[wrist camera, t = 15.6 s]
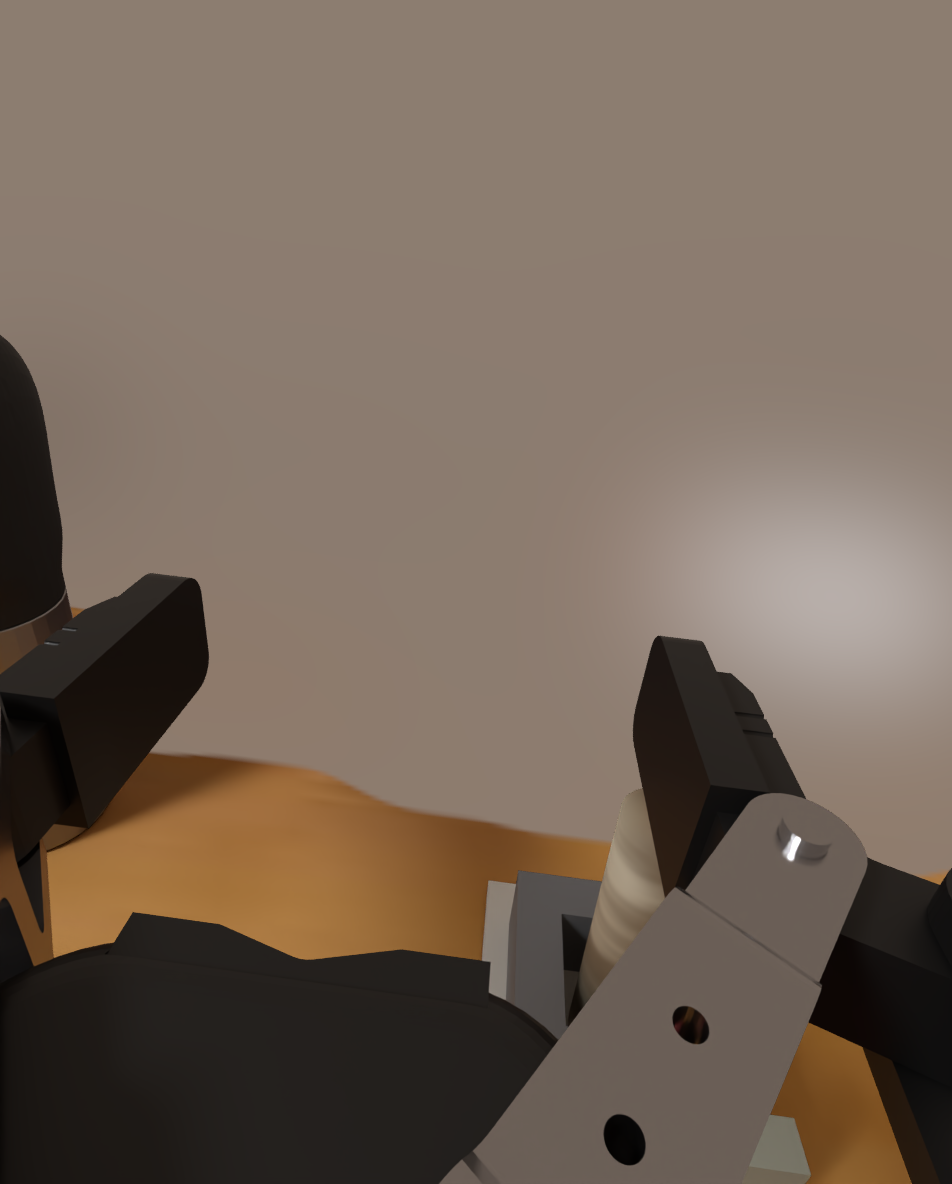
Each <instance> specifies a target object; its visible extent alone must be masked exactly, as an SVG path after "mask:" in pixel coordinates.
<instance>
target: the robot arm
mask: <svg viewBox="0 0 952 1184" xmlns="http://www.w3.org/2000/svg"><path fill="white" fill-rule="evenodd" d="M208 661H209V652H208V643H207V635H206V627H205V619H204V611H203V602H202V594H201V589H200V586H199V584H198V582H197V581H196V580H195V579H193V578H186V577H177V576H169V575H161V574H153V573H150V574H147V575H145V576H144V577H142V578H141V579H140V580H138V581H137V582H136V583H135V584H134V585H132V586H131V587H130V588H128V589H127V590H126V591H125V592H123V593H122V594H121V595H120V596H118V597H113V598H111V599H108V600H106V601H104V602H101V603H99V604H97V605H95V606H92V607H90V608H87V609H85V610H83V611H82V612H81V613H79V614H78V615H77V616H76V617H74V618H73V616H72V612H71V607H70V603H69V599H68V595H67V590H66V586H65V582H64V577H63V573H62V526H61V518H60V512H59V507H58V502H57V496H56V490H55V484H54V478H53V472H52V465H51V459H50V452H49V445H48V439H47V431H46V426H45V421H44V415H43V410H42V406H41V403H40V399H39V395H38V392H37V389H36V386H35V383H34V381H33V378H32V376H31V374H30V371H29V369H28V368H27V366H26V364H25V363H24V361H23V359H22V358H21V356H20V355H19V353H18V352H17V351H16V350H15V349H14V347H13V346H12V345H11V344H10V343H9V342H8V341H7V340H6V339H4V338H3V337H2V336H1V335H0V1184H742V1182H743V1179H744V1177H745V1174H746V1172H747V1169H748V1167H749V1165H750V1162H751V1160H752V1157H753V1155H754V1152H755V1150H756V1148H757V1145H758V1143H759V1140H760V1138H761V1136H762V1133H763V1131H764V1128H765V1126H766V1123H767V1121H768V1119H769V1116H770V1114H771V1111H772V1109H773V1106H774V1104H775V1102H776V1099H777V1097H778V1094H779V1092H780V1090H781V1087H782V1085H783V1082H784V1080H785V1077H786V1075H787V1073H788V1070H789V1068H790V1065H791V1063H792V1060H793V1058H794V1056H795V1053H796V1051H797V1048H798V1046H799V1043H800V1041H801V1039H802V1036H803V1034H804V1031H805V1029H806V1027H807V1024H808V1022H809V1023H811V1024H813V1025H816V1026H818V1027H820V1028H822V1029H824V1030H826V1031H829V1032H831V1033H833V1034H835V1035H837V1036H840V1037H842V1038H844V1039H846V1040H848V1041H851V1042H853V1043H855V1044H857V1045H859V1046H861V1047H863V1050H864V1053H865V1055H866V1058H867V1061H868V1064H869V1066H870V1069H871V1072H872V1075H873V1077H874V1080H875V1083H876V1086H877V1089H878V1091H879V1094H880V1097H881V1100H882V1102H883V1105H884V1108H885V1111H886V1113H887V1116H888V1119H889V1122H890V1124H891V1127H892V1130H893V1133H894V1135H895V1138H896V1141H897V1144H898V1147H899V1149H900V1152H901V1155H902V1158H903V1160H904V1163H905V1166H906V1169H907V1171H908V1174H909V1177H910V1180H911V1182H912V1184H952V868H951V870H950V871H949V872H948V874H947V875H946V877H945V878H944V880H943V881H942V883H941V885H938V884H936V883H933V882H930V881H927V880H925V879H922V878H919V877H917V876H914V875H911V874H908V873H906V872H903V871H900V870H897V869H895V868H892V867H889V866H887V865H883V864H881V863H879V862H877V861H874V860H872V859H870V858H868V857H867V855H866V852H865V849H864V847H863V845H862V843H861V841H860V840H859V838H858V837H857V836H856V834H855V833H854V832H853V831H852V829H851V828H850V827H849V826H848V825H847V824H846V823H845V822H843V821H842V820H841V819H840V818H839V817H837V816H836V815H834V814H833V813H832V812H830V811H829V810H827V809H825V808H824V807H822V806H820V805H818V804H816V803H814V802H812V801H809V800H806V798H805V796H804V794H803V792H802V790H801V788H800V786H799V784H798V782H797V780H796V778H795V776H794V774H793V772H792V770H791V768H790V766H789V764H788V762H787V760H786V758H785V756H784V754H783V752H782V750H781V748H780V746H779V744H778V742H777V740H776V738H773V732H772V730H771V728H770V726H769V724H768V722H767V721H766V720H765V719H764V714H763V712H762V710H761V708H760V707H759V704H758V702H757V700H756V698H755V696H754V694H753V693H752V692H751V691H749V689H747V688H746V687H745V686H744V685H743V684H742V683H741V682H740V681H739V680H738V679H737V678H736V677H734V676H733V675H732V674H731V673H723V672H716V670H715V667H714V665H713V662H712V660H711V658H710V656H709V653H708V651H707V649H706V647H705V645H704V643H703V642H702V641H697V640H689V639H681V638H673V637H665V636H657V637H656V638H655V639H654V641H653V644H652V647H651V651H650V654H649V658H648V662H647V666H646V670H645V674H644V677H643V681H642V686H641V689H640V693H639V697H638V701H637V705H636V709H635V714H634V723H633V742H634V748H635V752H636V758H637V763H638V767H639V773H640V777H641V782H642V787H643V792H644V797H645V802H646V807H647V812H648V817H649V822H650V827H651V832H652V837H653V842H654V847H655V852H656V857H657V862H658V866H659V871H660V876H661V881H662V886H663V891H664V896H665V899H664V900H663V902H662V903H661V904H660V906H659V907H658V908H657V910H656V911H655V912H654V914H653V915H652V916H651V918H650V919H649V920H648V922H647V923H646V924H645V926H644V927H643V928H642V930H641V931H640V932H639V934H638V935H637V936H636V938H635V939H634V940H633V942H632V943H631V944H630V946H629V947H628V948H627V950H626V951H625V952H624V954H623V955H622V956H621V958H620V959H619V960H618V962H617V963H616V964H615V966H614V967H613V968H612V970H611V971H610V972H609V974H608V975H607V976H606V978H605V979H604V980H603V982H602V983H601V984H600V986H599V987H598V988H597V990H596V991H595V992H594V994H593V995H592V996H591V998H590V999H589V1000H588V1002H587V1003H586V1004H585V1006H584V1007H583V1008H582V1010H581V1011H580V1012H579V1014H578V1015H577V1016H576V1018H575V1019H574V1020H573V1022H572V1023H571V1024H570V1026H569V1027H568V1028H567V1030H566V1031H565V1032H564V1034H563V1035H562V1036H561V1038H560V1039H559V1040H558V1039H557V1038H556V1037H555V1036H554V1035H553V1034H552V1033H551V1032H550V1031H549V1030H548V1029H547V1028H546V1027H545V1026H543V1025H542V1024H541V1023H539V1022H538V1021H537V1020H535V1019H534V1018H533V1017H532V1016H530V1015H529V1014H528V1013H526V1012H525V1011H523V1010H521V1009H520V1008H518V1007H516V1006H515V1005H513V1004H511V1003H510V1002H508V1001H506V1000H504V999H502V998H500V997H498V996H495V995H493V994H491V993H489V981H490V966H491V962H487V961H480V960H473V959H466V958H459V957H451V956H444V955H437V954H430V953H423V952H415V951H408V950H394V951H385V952H376V953H367V954H358V955H349V956H341V957H332V958H323V959H314V960H303V959H298V958H295V957H292V956H290V955H288V954H286V953H283V952H281V951H279V950H277V949H274V948H272V947H270V946H267V945H265V944H263V943H261V942H258V941H256V940H254V939H252V938H249V937H247V936H245V935H243V934H240V933H238V932H236V931H234V930H231V929H229V928H227V927H225V926H222V925H220V924H214V923H207V922H199V921H192V920H185V919H178V918H171V917H163V916H156V915H149V914H142V913H135V912H133V913H132V915H131V916H130V918H129V919H128V921H127V923H126V924H125V926H124V927H123V929H122V931H121V932H120V934H119V935H118V937H117V939H116V940H115V942H114V943H108V944H103V945H98V946H93V947H89V948H84V949H80V950H77V951H74V952H71V953H68V954H65V955H62V956H58V957H56V958H54V955H53V944H52V928H51V912H50V897H49V881H48V865H47V852H46V850H49V849H52V848H54V847H56V846H58V845H61V844H63V843H65V842H67V841H69V840H70V839H72V838H74V837H75V836H77V835H79V834H80V833H82V832H83V831H84V830H85V829H89V828H90V826H91V825H92V824H93V823H94V822H95V821H96V820H97V819H98V817H99V816H100V815H101V814H102V813H103V811H104V810H105V808H106V807H107V805H108V804H109V802H110V801H111V800H112V799H113V797H114V796H115V795H116V794H117V792H118V791H119V790H120V789H121V787H122V786H123V785H124V783H125V782H126V781H127V780H128V778H129V777H130V776H131V775H132V773H133V772H134V771H135V770H136V768H137V767H138V766H139V765H140V763H141V762H142V761H143V759H144V758H145V757H146V756H147V754H148V753H149V752H150V751H151V749H152V748H153V747H154V745H155V744H156V743H157V742H158V740H159V739H160V738H161V737H162V735H163V734H164V733H165V732H166V730H167V729H168V728H169V727H170V725H171V724H172V723H173V722H174V720H175V719H176V718H177V716H178V715H179V714H180V713H181V711H182V710H183V709H184V708H185V706H186V705H187V704H188V703H189V701H190V700H191V699H192V698H193V696H194V695H195V694H196V692H197V691H198V690H199V688H200V687H201V686H202V684H203V682H204V679H205V676H206V673H207V669H208V663H209V662H208Z"/></svg>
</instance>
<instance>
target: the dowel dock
mask: <svg viewBox="0 0 952 1184" xmlns="http://www.w3.org/2000/svg"><path fill="white" fill-rule="evenodd" d="M601 884H602V882H601V881H593V880H586V879H578V878H571V877H563V876H556V875H549V874H541V873H534V872H526V871H519V870H518V876H517V882H516V884H511V883H504V882H496V881H488V888H487V899H486V912H485V925H484V937H483V950H482V961H487V962H491V966H490V981H489V993H491V994H493V995H495V996H498V997H500V998H502V999H504V1000H506V1001H508V1002H510V1003H511V1004H513V1005H515V1006H516V1007H518V1008H520V1009H521V1010H523V1011H525V1012H526V1013H528V1014H529V1015H530V1016H532V1017H533V1018H534V1019H535V1020H537V1021H538V1022H539V1023H541V1024H542V1025H543V1026H545V1027H546V1028H547V1029H548V1030H549V1031H550V1032H551V1033H552V1034H553V1035H554V1036H555V1037H556V1038H557V1039H558V1040H559V1039H560V1038H561V1036H562V1035H563V1034H564V1032H565V1031H566V1030H567V1028H568V1015H569V1011H570V1007H571V1003H572V999H573V995H574V991H575V987H576V983H577V979H578V975H579V971H580V967H581V963H582V959H583V955H584V951H585V947H586V943H587V939H588V935H589V931H590V927H591V923H592V919H593V916H594V912H595V908H596V904H597V900H598V896H599V892H600V888H601ZM810 1177H811V1173H810V1170H809V1166H808V1163H807V1160H806V1156H805V1153H804V1150H803V1146H802V1143H801V1140H800V1136H799V1133H798V1130H797V1126H796V1123H795V1120H794V1118H790V1117H783V1116H776V1115H770V1116H769V1119H768V1121H767V1123H766V1126H765V1128H764V1131H763V1133H762V1136H761V1138H760V1140H759V1143H758V1145H757V1148H756V1150H755V1152H754V1155H753V1157H752V1160H751V1162H750V1165H749V1167H748V1169H747V1172H746V1174H745V1177H744V1179H743V1182H742V1184H805V1183H806V1182H807V1181H808V1179H809V1178H810Z"/></svg>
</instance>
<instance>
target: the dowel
mask: <svg viewBox="0 0 952 1184" xmlns="http://www.w3.org/2000/svg"><path fill="white" fill-rule="evenodd" d="M664 899H665V896H664V891H663V886H662V881H661V876H660V871H659V866H658V862H657V857H656V852H655V847H654V842H653V837H652V832H651V827H650V822H649V817H648V812H647V807H646V802H645V797H644V792H643V788H642V789H638V790H636V791H634V792H632V793H630V794H629V795H627V796H626V797H625V799H624V800H623V802H622V805H621V808H620V812H619V817H618V820H617V824H616V828H615V832H614V836H613V840H612V844H611V848H610V852H609V856H608V860H607V864H606V868H605V872H604V876H603V880H602V884H601V888H600V892H599V896H598V900H597V904H596V908H595V912H594V916H593V919H592V923H591V927H590V931H589V935H588V939H587V943H586V947H585V951H584V955H583V959H582V963H581V967H580V971H579V975H578V979H577V983H576V987H575V991H574V995H573V999H572V1003H571V1007H570V1011H569V1015H568V1027H569V1026H570V1024H571V1023H572V1022H573V1020H574V1019H575V1018H576V1016H577V1015H578V1014H579V1012H580V1011H581V1010H582V1008H583V1007H584V1006H585V1004H586V1003H587V1002H588V1000H589V999H590V998H591V996H592V995H593V994H594V992H595V991H596V990H597V988H598V987H599V986H600V984H601V983H602V982H603V980H604V979H605V978H606V976H607V975H608V974H609V972H610V971H611V970H612V968H613V967H614V966H615V964H616V963H617V962H618V960H619V959H620V958H621V956H622V955H623V954H624V952H625V951H626V950H627V948H628V947H629V946H630V944H631V943H632V942H633V940H634V939H635V938H636V936H637V935H638V934H639V932H640V931H641V930H642V928H643V927H644V926H645V924H646V923H647V922H648V920H649V919H650V918H651V916H652V915H653V914H654V912H655V911H656V910H657V908H658V907H659V906H660V904H661V903H662V902H663V900H664Z"/></svg>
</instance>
